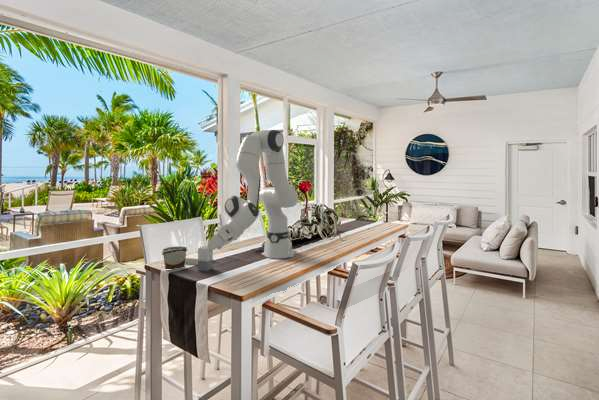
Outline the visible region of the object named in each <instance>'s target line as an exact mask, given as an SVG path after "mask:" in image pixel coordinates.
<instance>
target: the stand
mask: <svg viewBox="0 0 599 400" xmlns="http://www.w3.org/2000/svg"><path fill="white" fill-rule="evenodd" d="M185 263H187V264H186V265H195V266H196V265H197V266H198V252H193V253H191V254H188V255H186V258H185Z"/></svg>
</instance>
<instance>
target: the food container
mask: <svg viewBox="0 0 599 400" xmlns="http://www.w3.org/2000/svg"><path fill="white" fill-rule="evenodd" d="M187 252H188V249H187V247H186V246H170V247H165V248H163V249H162V252H161V255H162V256H163V263H164V268H165V269H174V270H176V269H175V268H179V269H182V268H181V267H184V268H185V267H186V264H185V258H186V256H187V255H186V254H187ZM165 269H164V270H165Z"/></svg>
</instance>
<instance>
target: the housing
mask: <svg viewBox="0 0 599 400" xmlns="http://www.w3.org/2000/svg"><path fill="white" fill-rule="evenodd" d="M208 248H209V247H208V245H207V246H205V245H203V246H201V247H198V248H197V253H198V265H197V267H198V268H197V269H198V270H197V271H198V272H209V271H212V270H213V269H214V261H213V259H214V256H213V254H214V253H213V250H212V252H211V253H207V250H208Z"/></svg>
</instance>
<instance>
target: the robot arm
mask: <svg viewBox="0 0 599 400" xmlns="http://www.w3.org/2000/svg"><path fill="white" fill-rule="evenodd" d="M283 146H284V135H283V134H282V132H281V131H279V130H276V129H271V130H270V129H264V130H258V131H251V132H248V133H247V134H246V135H245V136H244V138H243V139H242V142H241V143H240V146H239V148H238V152H237V155H236V162H235V164H236V165H235V166H236V168H237V171H239V173H240V174H241V176H242V177H243V178H244V179H245V181H246V182H247V183H246V184H247V187H248V188H247V195H246V196H247V197H246V199H244V198H242V197H240V196H237V195H231V196H229V197H228V198H227V199H226V201H225V204H224V211H225V213H226V214H227V216H228V217H229V218H230V219H229V220H228V221H227V222H226V223H225V224H224V225H223V226H221V227H219V228H218V229H217V230H216V233H215V234H214V235H213V236H212V237H211V239H210V240H209V241H207V246H208V247H209V248H208V250H207V253H211V252H212V250H214V251H215V250H216V249H217V250H220V249H222V248H223V247H224V246H226V245H228V244H231V243H232V242H234V241H237V240H238V239H239V238H240V237H241V236H242V235H243V233H245V231H246V230H247V229H249V228H250V227H252V225H253V224H254V223H255V222H256V220H257V218H258V217H259V214H260V206H259V205H260V204H261V205H262V206H263V208H264V210H265V213H266V217H267V231H266V239H265V240H264V248H263V251H262V252H261V255H262V256H264V257H265V258H268V259H269V258H270V259H285V258H294V256H295V254H296V252H295V251H296V249H293V243H292V241H291V240H290V238H289V234H290V230H288V216H286V214H285V213H284V212H283V210H282V208H284V209H288V208H293V207H295V206H297V204H298V201H299V195H298V192H297V191H296V190H295V189H294V188H293V187H292V185H291V184H290V181H289V180H288V176H287V171H286V162H285V161H286V159H285V153H284V150H283ZM262 153H264V168H265V177H266V179H267V180H268V181H269V182H270V184H272V186H267V187H264V188H261V182H262V181H261V174H260V159H261V154H262ZM259 203H260V204H259Z"/></svg>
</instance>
